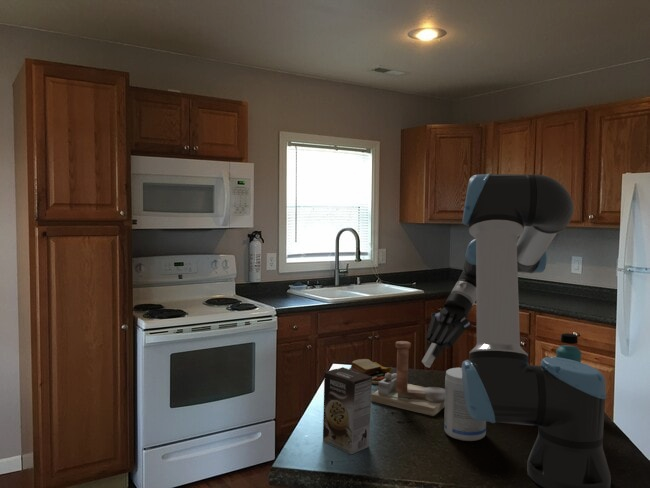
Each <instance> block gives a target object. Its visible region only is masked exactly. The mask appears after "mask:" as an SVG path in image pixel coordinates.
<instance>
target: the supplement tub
mask: <svg viewBox="0 0 650 488" xmlns="http://www.w3.org/2000/svg"><path fill="white" fill-rule="evenodd" d="M444 378H445V380H444V389H445V407H444V417H443V418H444V419H443V421H444V422H443V423H444V424H443V425H444V426H443V427H444V429H443V430H444V432H445V434H446V435H447V436H448V437H451V438H452V439H455V440H459V441H465V442H476V441H480V440H482V439H483V438H485V436H486V433H487V421H480V420H475V419H473V418H472V417H471V416H470V415H469V413H468V411H467V408H466V403H465V397H464V391H463V382H462V367H452V368H449V369H447V370H446V371H445V377H444Z"/></svg>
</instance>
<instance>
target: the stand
mask: <svg viewBox="0 0 650 488" xmlns="http://www.w3.org/2000/svg"><path fill="white" fill-rule="evenodd" d="M391 374H392V375H391ZM391 374H390V373H386V374H385V379H383V380H381V381H379V382H378V384H377V390H376V391H374V392H371V403H372V402H373V403H377V404H381V405H386V406H389V407H390V406H391V407H395V408H398V409H403V410H407V411H411V412H414V413H420V414H423V415H428V416H432V417H434V416H436V415H437V414H438V413H440V412H441V411H442V410H443V409H445V401H444V402H432V401H428V400H426V399H420V398H407V397H398V391H396V376H397V372H393V373H391ZM425 388H427V387H425V386H421V385H415V384H411V383H408V386H407V389H408V390H423V391H424V389H425Z"/></svg>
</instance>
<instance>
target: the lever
mask: <svg viewBox="0 0 650 488" xmlns="http://www.w3.org/2000/svg"><path fill="white" fill-rule="evenodd" d="M411 347H412V343H411V342H409V341H406V340H400V341H399V340H398V341H396V342H395V348H397V350H396V351H397V352H396V373H397V376H396V391H398V397H407V398H420V399H426V400H428V401H432V402H444V401H445V388H442V387H439V386H438V387H437V386H428V387H426V388H425V389H424V391H423V390H408V389H407V386H408V384H409V383H408V380H409V379H408V378H409V377H408V376H409V352H410V351H409V349H410V348H411Z"/></svg>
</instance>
